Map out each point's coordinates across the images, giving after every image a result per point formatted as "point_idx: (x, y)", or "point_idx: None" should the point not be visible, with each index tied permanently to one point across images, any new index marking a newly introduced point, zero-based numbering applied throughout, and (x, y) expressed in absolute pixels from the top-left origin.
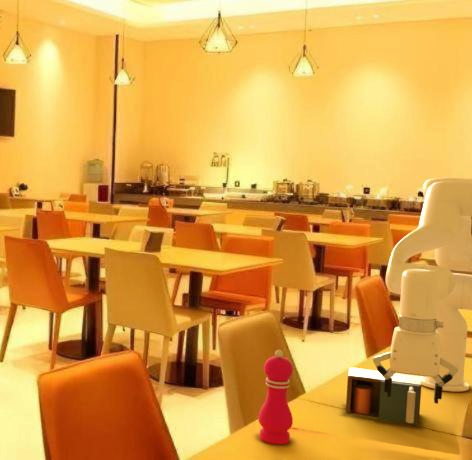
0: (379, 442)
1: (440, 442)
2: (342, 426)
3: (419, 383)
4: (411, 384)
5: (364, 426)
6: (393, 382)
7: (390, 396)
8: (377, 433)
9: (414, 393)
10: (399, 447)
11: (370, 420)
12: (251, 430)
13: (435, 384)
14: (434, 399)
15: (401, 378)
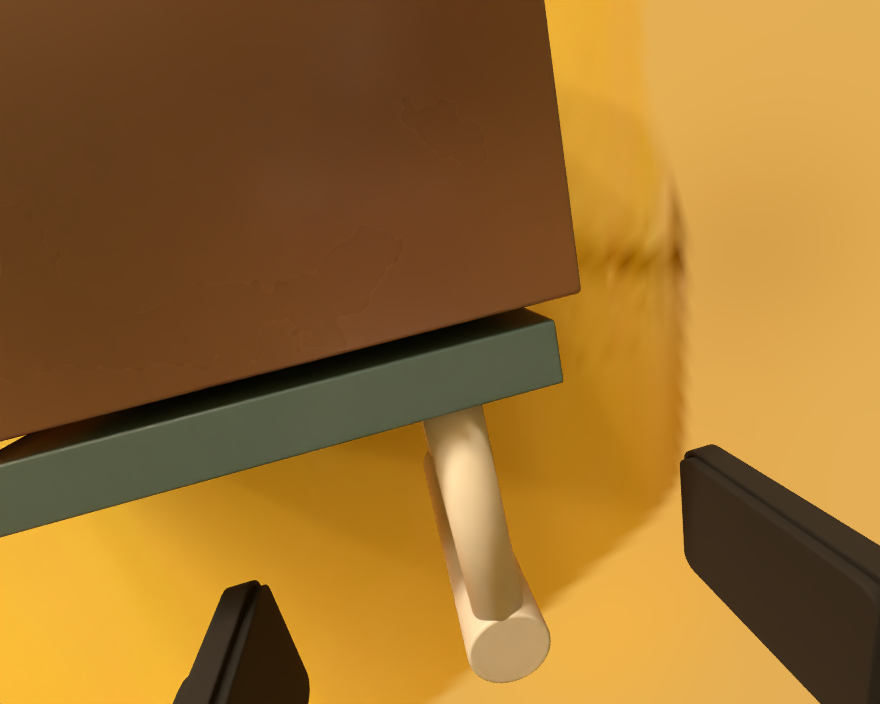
0: (354, 641)
1: (587, 441)
2: (103, 574)
3: (544, 223)
4: (445, 363)
5: (198, 486)
6: (178, 457)
7: (306, 680)
8: (302, 539)
9: (542, 660)
10: (444, 632)
11: None
12: None
13: (873, 662)
14: (705, 567)
15: (177, 72)
